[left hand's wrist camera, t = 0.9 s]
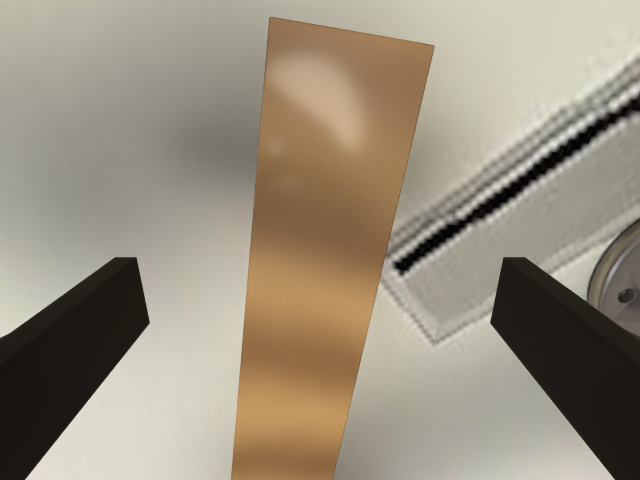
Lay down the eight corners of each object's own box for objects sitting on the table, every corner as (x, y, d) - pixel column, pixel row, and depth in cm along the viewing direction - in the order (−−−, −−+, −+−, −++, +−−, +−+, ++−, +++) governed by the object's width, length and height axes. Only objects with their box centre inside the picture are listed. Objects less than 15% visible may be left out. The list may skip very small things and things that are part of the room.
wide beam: (281, 40, 24) (269, 16, 17) (403, 61, 24) (435, 45, 18) (231, 570, 46) (217, 646, 39) (295, 575, 46) (292, 651, 40)
